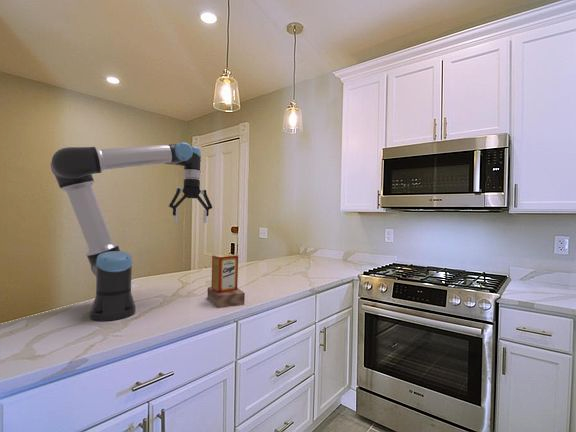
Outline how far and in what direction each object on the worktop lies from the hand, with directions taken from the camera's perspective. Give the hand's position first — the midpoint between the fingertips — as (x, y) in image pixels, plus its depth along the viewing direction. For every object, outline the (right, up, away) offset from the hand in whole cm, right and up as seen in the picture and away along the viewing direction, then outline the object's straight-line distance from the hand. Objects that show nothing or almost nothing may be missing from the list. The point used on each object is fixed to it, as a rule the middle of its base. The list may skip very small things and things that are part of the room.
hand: (190, 222), depth 148 cm
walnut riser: (+19, -35, -10) cm, 41 cm away
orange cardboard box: (+19, -30, -10) cm, 37 cm away
